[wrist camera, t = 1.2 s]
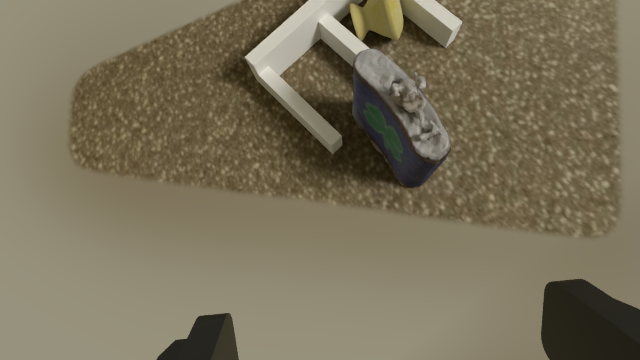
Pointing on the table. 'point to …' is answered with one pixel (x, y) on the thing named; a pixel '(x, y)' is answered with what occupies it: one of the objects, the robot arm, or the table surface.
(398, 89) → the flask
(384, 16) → the knob
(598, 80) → the table surface
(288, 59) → the rack
